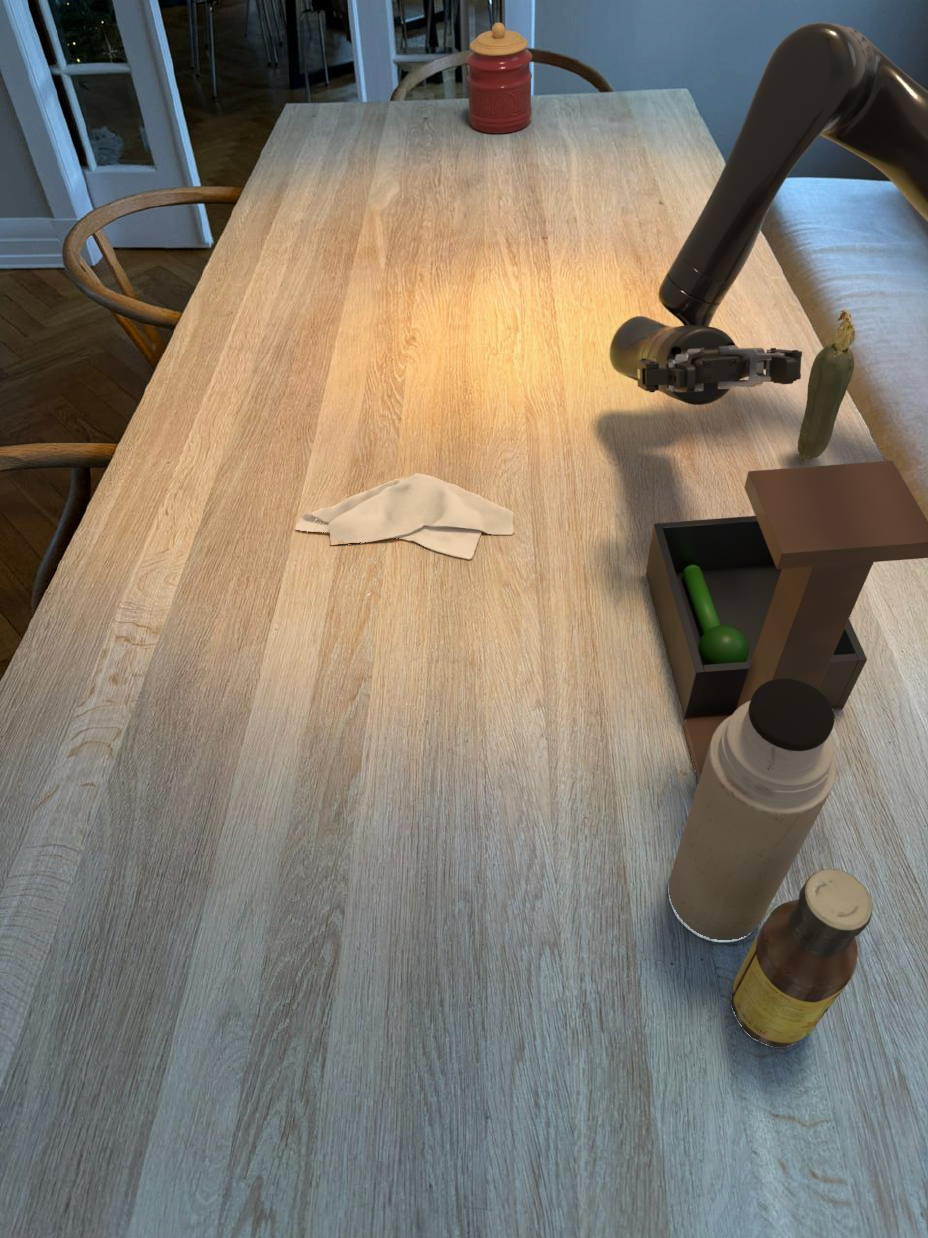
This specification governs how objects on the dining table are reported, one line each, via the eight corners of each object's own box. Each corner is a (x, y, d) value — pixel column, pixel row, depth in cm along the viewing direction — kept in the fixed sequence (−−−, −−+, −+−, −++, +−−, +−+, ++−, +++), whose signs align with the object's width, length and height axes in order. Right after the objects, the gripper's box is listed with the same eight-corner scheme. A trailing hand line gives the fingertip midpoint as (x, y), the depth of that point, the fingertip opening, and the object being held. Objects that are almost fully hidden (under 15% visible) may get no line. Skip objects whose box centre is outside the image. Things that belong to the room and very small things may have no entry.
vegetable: (823, 475, 107) (873, 328, 92) (786, 472, 108) (830, 326, 93) (819, 451, 110) (867, 305, 95) (783, 449, 111) (825, 303, 96)
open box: (784, 563, 98) (801, 511, 92) (843, 708, 86) (867, 659, 80) (645, 574, 98) (653, 523, 92) (683, 720, 86) (695, 672, 80)
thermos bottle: (700, 835, 78) (766, 635, 56) (782, 891, 74) (886, 700, 53) (648, 901, 74) (699, 714, 53) (732, 964, 70) (823, 791, 49)
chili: (710, 571, 97) (716, 540, 93) (757, 697, 86) (765, 668, 82) (667, 576, 97) (671, 545, 93) (708, 703, 86) (714, 674, 82)
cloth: (525, 488, 109) (525, 474, 107) (504, 568, 100) (504, 554, 98) (325, 466, 113) (322, 452, 111) (289, 540, 105) (285, 526, 103)
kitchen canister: (502, 104, 188) (501, 7, 174) (544, 120, 181) (546, 21, 168) (456, 122, 183) (450, 24, 169) (497, 140, 176) (495, 38, 162)
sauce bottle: (814, 1057, 66) (903, 965, 51) (729, 1044, 67) (790, 950, 52) (807, 970, 70) (886, 861, 55) (726, 959, 71) (782, 848, 56)
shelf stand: (786, 718, 85) (892, 459, 61) (812, 792, 80) (939, 541, 56) (683, 726, 85) (748, 470, 61) (702, 800, 80) (782, 553, 56)
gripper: (621, 330, 90) (658, 336, 74) (760, 319, 90) (826, 322, 74) (622, 406, 92) (658, 426, 77) (757, 395, 92) (821, 413, 77)
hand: (741, 375), depth 76 cm, fingers open, 8 cm apart
